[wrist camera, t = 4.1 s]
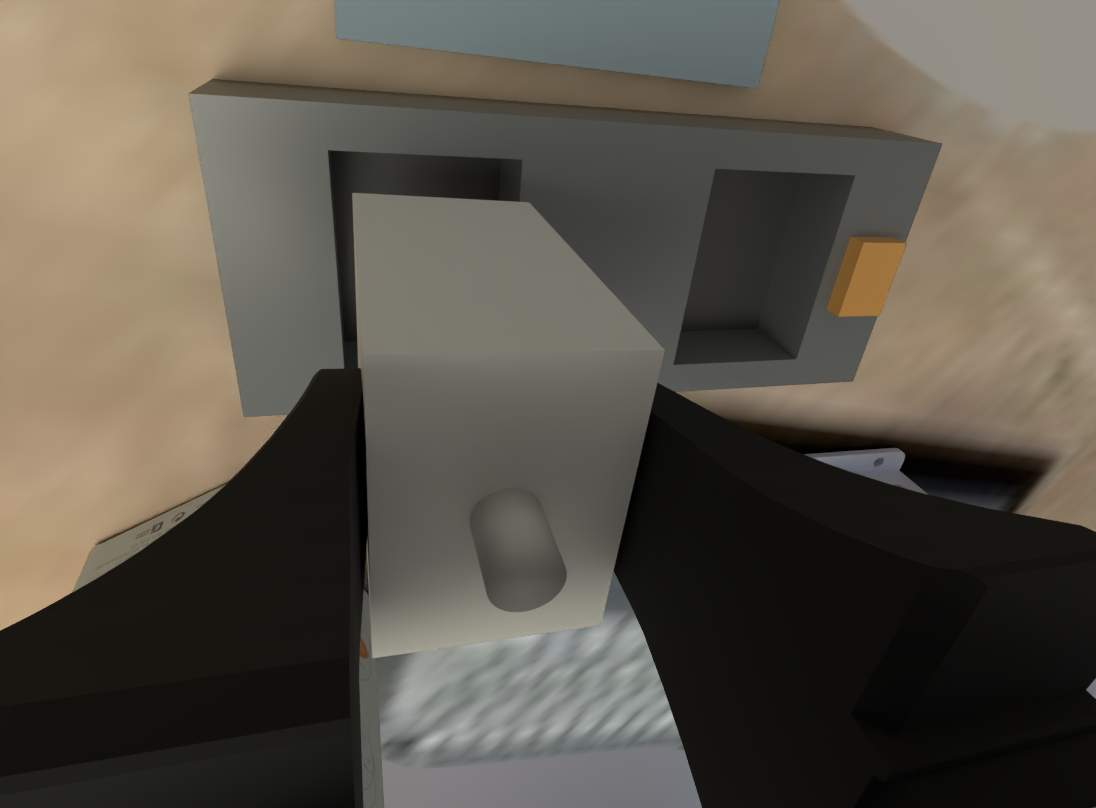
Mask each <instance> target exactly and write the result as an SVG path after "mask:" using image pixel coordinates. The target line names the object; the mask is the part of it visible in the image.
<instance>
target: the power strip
mask: <svg viewBox="0 0 1096 808" xmlns="http://www.w3.org/2000/svg"><path fill="white" fill-rule="evenodd" d="M188 94H189V100H190V106H191V112H192V118H193V123H194V129H195V135H196V141H197V147H198V153H199V158H200V164H201V170H202V176H203V182H204V188H205V193H206V199H207V205H208V211H209V217H210V223H211V229H212V234H213V240H214V246H215V252H216V258H217V264H218V269H219V275H220V281H221V287H222V293H223V299H224V305H225V310H226V316H227V322H228V328H229V334H230V340H231V345H232V351H233V357H234V363H235V369H236V375H237V381H238V386H239V392H240V398H241V404H242V410H243V416H244V417H254V416H272V415H288V414H289V413H290V412H291V411H292V409H293V408H294V406H295V405H296V403H297V402H298V401H299V399H300V398H301V396H302V395H303V393H304V392H305V390H306V388H307V387H308V385H309V383H310V382H311V380H312V378H313V376H314V375H315V374H316V373H317V372H318V371H319V370H320V369H343V368H358V345H357V316H356V287H355V258H354V229H353V200H352V193H366V194H384V195H403V196H421V197H440V198H458V199H477V200H495V201H513V202H529V203H530V204H531V205H532V206H533V207H534V208H535V209H536V210H537V211H538V212H539V214H540V215H541V216H542V217H543V218H544V219H545V220H546V221H547V222H548V223H549V224H550V226H551V227H552V228H553V229H554V230H555V231H556V232H557V233H558V234H559V235H560V236H561V237H562V239H563V240H564V241H565V242H566V243H567V244H568V245H569V246H570V247H571V248H572V249H573V251H574V252H575V253H576V254H577V255H578V256H579V257H580V258H581V259H582V260H583V261H584V263H585V264H586V265H587V266H588V267H589V268H590V269H591V270H592V271H593V272H594V273H595V274H596V276H597V277H598V278H599V279H600V280H601V281H602V282H603V283H604V284H605V285H606V286H607V288H608V289H609V290H610V291H611V292H612V293H613V294H614V295H615V296H616V297H617V298H618V300H619V301H620V302H621V303H622V304H623V305H624V306H625V307H626V308H627V309H628V310H629V311H630V313H631V314H632V315H633V316H634V317H635V318H636V319H637V320H638V321H639V322H640V323H641V325H642V326H643V327H644V328H645V329H646V330H647V331H648V332H649V333H650V334H651V335H652V336H653V338H654V339H655V340H656V341H657V342H658V343H659V344H660V345H661V346H662V347H663V348H664V350H665V352H664V356H663V360H662V365H661V369H660V373H659V377H658V382H657V383H659V384H661V385H663V386H665V387H667V388H668V389H670V390H672V391H674V392H680V391H697V390H714V389H731V388H748V387H765V386H782V385H799V384H816V383H833V382H850V381H853V380H854V377H855V374H856V372H857V369H858V366H859V364H860V361H861V359H862V356H863V353H864V351H865V348H866V345H867V343H868V340H869V337H870V335H871V332H872V329H873V327H874V324H875V321H876V319H877V316H879V315H880V313H881V310H882V307H883V305H884V302H885V299H886V297H887V294H888V291H889V289H890V286H891V284H892V281H893V278H894V276H895V273H896V270H897V268H898V265H899V262H900V260H901V257H902V254H903V252H904V249H905V247H906V244H907V243H905V242H906V239H907V237H908V234H909V231H910V229H911V226H912V223H913V221H914V218H915V215H916V213H917V210H918V207H919V205H920V202H921V199H922V197H923V194H924V191H925V189H926V186H927V183H928V181H929V178H930V176H931V173H932V170H933V168H934V165H935V162H936V160H937V157H938V154H939V152H940V149H941V146H942V144H941V143H937V142H933V141H928V140H924V139H920V138H915V137H911V136H907V135H902V134H898V133H894V132H890V131H885V130H881V129H877V128H872V127H861V126H847V125H833V124H819V123H806V122H792V121H778V120H765V119H751V118H737V117H723V116H710V115H696V114H682V113H669V112H655V111H641V110H627V109H614V108H600V107H586V106H573V105H559V104H545V103H531V102H518V101H504V100H490V99H477V98H463V97H449V96H436V95H422V94H408V93H394V92H381V91H367V90H353V89H340V88H326V87H312V86H298V85H285V84H271V83H257V82H244V81H230V80H216V79H212V80H210V81H208V82H207V83H205V84H203V85H202V86H200V87H198V88H197V89H195V90H193V91H192V92H190V93H188Z"/></svg>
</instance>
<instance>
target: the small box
mask: <svg viewBox="0 0 1096 808" xmlns="http://www.w3.org/2000/svg"><path fill="white" fill-rule="evenodd" d="M225 485H226V484H225ZM225 485H223V486H221V487H219V488H217V489H214V490H212V491H210V492H208V493H206V494H204V495H202V496H200V497H198V498H196V499H193V500H191V501H189V502H187V503H185V504H183V505H181V506H179V507H177V508H174V509H172V510H170V511H168V512H166V513H164V514H162V515H160V516H158V517H156V518H154V519H151V520H149V521H147V522H145V523H143V524H141V525H139V526H137V527H135V528H133V529H131V530H129V531H127V532H124V533H122V534H120V535H118V536H116V537H114V538H112V539H110V540H108V541H106V542H103V543H101V544H99V545H97V546H95V547H94V548H92V550H91V551H90V553H89V555H88V558H87V560H86V562H85V565H84V567H83V569H82V571H81V574H80V576H79V578H78V580H77V583H76V585H75V587H74V589H73V592H74V591H76V590H77V589H79V588H81V587H83V586H84V585H86V584H88V583H90V582H91V581H93V580H95V579H96V578H98V577H100V576H101V575H103V574H105V573H106V572H108V571H109V570H111V569H113V568H114V567H116V566H117V565H119V564H121V563H122V562H124V561H125V560H127V559H129V558H130V557H132V556H133V555H135V554H136V553H138V552H139V551H141V550H142V549H144V548H145V547H146V546H148V545H149V544H151V543H152V542H153V541H155V540H156V539H158V538H159V537H160V536H162V535H163V534H165V533H166V532H167V531H169V530H170V529H171V528H173V527H174V526H176V525H177V524H178V523H180V522H181V521H183V520H184V519H185V518H187V517H188V516H190V515H191V514H192V513H194V512H195V511H196V510H197V509H199V508H200V507H201V506H202V505H203V504H205V503H206V502H207V501H208V500H209V499H210V498H211V497H213V496H214V495H215V494H216V493H217V492H218V491H219V490H220V489H222V488H223V487H224V486H225ZM359 687H360V718H361V749H362V780H363V808H384V797H383V777H382V758H381V740H380V723H379V704H378V686H377V667H376V658H372V643H371V623H370V603H369V595H368V593H367V592H366V591H365V590H364V593H363V608H362V623H361V638H360V662H359Z"/></svg>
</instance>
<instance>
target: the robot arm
mask: <svg viewBox="0 0 1096 808" xmlns="http://www.w3.org/2000/svg"><path fill="white" fill-rule="evenodd" d="M904 459H905V454H904V453H903V452H902V451H901V450H900V449H898V448H885V449H871V450H857V451H843V452H829V453H815V454H801V453H799V452H796V451H794V450H791V449H789V448H786V447H784V446H781V445H779V444H777V443H774V442H772V441H770V440H768V439H765V438H763V437H761V436H759V435H757V434H755V433H753V432H751V431H749V430H746V429H744V428H742V427H740V426H738V425H736V424H734V423H732V422H730V421H728V420H726V419H724V418H722V417H720V416H718V415H716V414H714V413H712V412H711V411H709V410H707V409H705V408H703V407H701V406H699V405H698V404H696V403H694V402H692V401H690V400H688V399H687V398H685V397H683V396H681V395H679V394H677V393H676V392H674V391H672V390H670V389H668V388H667V387H665V386H663V385H661V384H659V383H657V386H656V390H655V395H654V399H653V403H652V408H651V412H650V416H649V420H648V425H647V429H646V433H645V438H644V442H643V446H642V450H641V455H640V459H639V463H638V468H637V472H636V476H635V481H634V485H633V489H632V493H631V498H630V502H629V506H628V511H627V515H626V519H625V523H624V528H623V532H622V536H621V541H620V545H619V549H618V554H617V558H616V562H615V566H614V572H615V574H616V576H617V578H618V580H619V582H620V584H621V586H622V588H623V590H624V592H625V594H626V596H627V598H628V600H629V602H630V604H631V606H632V608H633V611H634V613H635V615H636V617H637V620H638V622H639V624H640V626H641V629H642V631H643V633H644V636H645V638H646V641H647V644H648V646H649V649H650V652H651V655H652V657H653V660H654V663H655V665H656V668H657V671H658V674H659V676H660V679H661V682H662V684H663V687H664V690H665V693H666V696H667V699H668V702H669V705H670V708H671V711H672V714H673V717H674V720H675V723H676V726H677V729H678V732H679V735H680V738H681V740H682V743H683V747H684V750H685V753H686V756H687V760H688V763H689V766H690V769H691V773H692V776H693V779H694V782H695V786H696V789H697V792H698V795H699V799H700V802H701V805H702V808H1096V532H1094V531H1092V530H1090V529H1088V528H1086V527H1083V526H1080V525H1075V524H1069V523H1064V522H1058V521H1053V520H1047V519H1042V518H1036V517H1031V516H1025V515H1020V514H1014V513H1009V512H1003V511H998V510H992V509H987V508H983V507H978V506H974V505H969V504H965V503H961V502H957V501H953V500H948V499H944V498H940V497H936V496H932V495H928V494H927V493H926V492H925V491H923V490H922V489H921V488H920V487H919V486H917V485H916V484H915V483H914V482H913V481H911V480H910V479H909V478H908V477H907V476H905V475H904V474H903V473H902V472H900V471H899V470H900V468H901V466H902V464H903V462H904ZM366 548H367V515H366V483H365V451H364V420H363V388H362V376H361V368H343V369H320V370H319V371H318V372H317V373H316V374H315V375H314V376H313V378H312V380H311V382H310V383H309V385H308V387H307V388H306V390H305V392H304V393H303V395H302V396H301V398H300V399H299V401H298V402H297V403H296V405H295V406H294V408H293V409H292V411H291V412H290V413H289V414H288V416H287V417H286V418H285V420H284V421H283V422H282V423H281V425H280V426H279V427H278V429H277V430H276V431H275V432H274V434H273V435H272V436H271V437H270V439H269V440H268V441H267V442H266V443H265V444H264V445H263V446H262V447H261V449H260V450H259V451H258V452H257V453H256V454H255V455H254V456H253V457H252V458H251V459H250V461H249V462H248V463H247V464H246V465H245V466H244V467H243V468H242V469H241V470H240V471H239V472H238V473H237V474H236V475H235V476H234V477H233V478H232V479H231V480H230V481H229V482H228V483H227V484H226V485H225V486H224V487H223V488H222V489H220V490H219V491H218V492H217V493H216V494H215V495H214V496H213V497H211V498H210V499H209V500H208V501H207V502H206V503H205V504H203V505H202V506H201V507H200V508H199V509H197V510H196V511H195V512H194V513H192V514H191V515H190V516H188V517H187V518H185V519H184V520H183V521H181V522H180V523H178V524H177V525H176V526H174V527H173V528H171V529H170V530H169V531H167V532H166V533H165V534H163V535H162V536H160V537H159V538H158V539H156V540H155V541H153V542H152V543H151V544H149V545H148V546H146V547H145V548H144V549H142V550H141V551H139V552H138V553H136V554H135V555H133V556H132V557H130V558H129V559H127V560H125V561H124V562H122V563H121V564H119V565H117V566H116V567H114V568H113V569H111V570H109V571H108V572H106V573H105V574H103V575H101V576H100V577H98V578H96V579H95V580H93V581H91V582H90V583H88V584H86V585H84V586H83V587H81V588H79V589H77V590H76V591H74V592H72V593H71V594H69V595H67V596H65V597H64V598H62V599H60V600H58V601H57V602H55V603H53V604H51V605H49V606H47V607H46V608H44V609H42V610H40V611H38V612H36V613H35V614H33V615H31V616H29V617H27V618H25V619H23V620H21V621H19V622H17V623H15V624H13V625H11V626H9V627H7V628H5V629H3V630H1V631H0V808H363V780H362V749H361V718H360V687H359V662H360V638H361V623H362V608H363V593H364V578H365V563H366Z"/></svg>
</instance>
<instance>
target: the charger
mask: <svg viewBox="0 0 1096 808" xmlns="http://www.w3.org/2000/svg"><path fill="white" fill-rule="evenodd" d="M352 200H353V229H354V258H355V287H356V316H357V345H358V368H361V376H362V388H363V420H364V451H365V483H366V515H367V563H368V583H369V603H370V623H371V643H372V658H378V657H385V656H392V655H399V654H406V653H413V652H420V651H427V650H434V649H440V648H447V647H454V646H461V645H468V644H475V643H482V642H489V641H495V640H502V639H509V638H516V637H523V636H530V635H537V634H544V633H551V632H557V631H564V630H571V629H578V628H585V627H592V626H599V625H601V622H602V618H603V614H604V609H605V605H606V601H607V596H608V592H609V588H610V584H611V579H612V575H613V571H614V566H615V562H616V558H617V554H618V549H619V545H620V541H621V536H622V532H623V528H624V523H625V519H626V515H627V511H628V506H629V502H630V498H631V493H632V489H633V485H634V481H635V476H636V472H637V468H638V463H639V459H640V455H641V450H642V446H643V442H644V438H645V433H646V429H647V425H648V420H649V416H650V412H651V408H652V403H653V399H654V395H655V390H656V386H657V382H658V377H659V373H660V369H661V365H662V360H663V356H664V352H665V350H664V348H663V347H662V346H661V345H660V344H659V343H658V342H657V341H656V340H655V339H654V338H653V336H652V335H651V334H650V333H649V332H648V331H647V330H646V329H645V328H644V327H643V326H642V325H641V323H640V322H639V321H638V320H637V319H636V318H635V317H634V316H633V315H632V314H631V313H630V311H629V310H628V309H627V308H626V307H625V306H624V305H623V304H622V303H621V302H620V301H619V300H618V298H617V297H616V296H615V295H614V294H613V293H612V292H611V291H610V290H609V289H608V288H607V286H606V285H605V284H604V283H603V282H602V281H601V280H600V279H599V278H598V277H597V276H596V274H595V273H594V272H593V271H592V270H591V269H590V268H589V267H588V266H587V265H586V264H585V263H584V261H583V260H582V259H581V258H580V257H579V256H578V255H577V254H576V253H575V252H574V251H573V249H572V248H571V247H570V246H569V245H568V244H567V243H566V242H565V241H564V240H563V239H562V237H561V236H560V235H559V234H558V233H557V232H556V231H555V230H554V229H553V228H552V227H551V226H550V224H549V223H548V222H547V221H546V220H545V219H544V218H543V217H542V216H541V215H540V214H539V212H538V211H537V210H536V209H535V208H534V207H533V206H532V205H531V204H530V203H529V202H513V201H495V200H477V199H458V198H440V197H421V196H403V195H384V194H366V193H352Z"/></svg>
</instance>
